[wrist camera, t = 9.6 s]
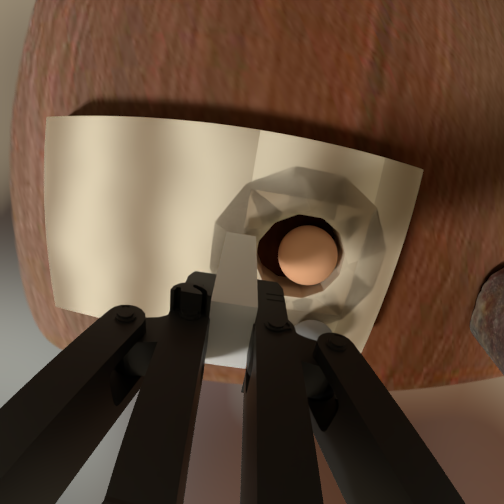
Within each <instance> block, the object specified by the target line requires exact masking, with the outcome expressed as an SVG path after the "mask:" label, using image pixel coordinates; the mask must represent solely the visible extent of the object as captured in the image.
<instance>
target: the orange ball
mask: <svg viewBox="0 0 504 504" xmlns="http://www.w3.org/2000/svg"><path fill="white" fill-rule="evenodd" d="M337 257H338V253H337V247H336V244H335V242H334V240H333V239H332V237H331V236H330V235H329V234H328V233H327V232H326V231H325V230H323V229H321V228H319V227H316V226H311V225H304V226H299V227H297V228H294V229H293V230H291V231H290V232H289V233H287V234H286V236H285V237H284V238H283V240H282V241H281V243H280V246H279V250H278V260H279V264H280V267H281V269H282V271H283V272H284V274H285V275H286V276H287V277H288V278H289V279H290V280H292V281H293V282H295V283H298V284H301V285H314V284H318V283H320V282H322V281H324V280H325V279H327V278H328V277H329V276H330V275H331V273H332V272H333V270H334V269H335V266H336V263H337Z"/></svg>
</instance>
